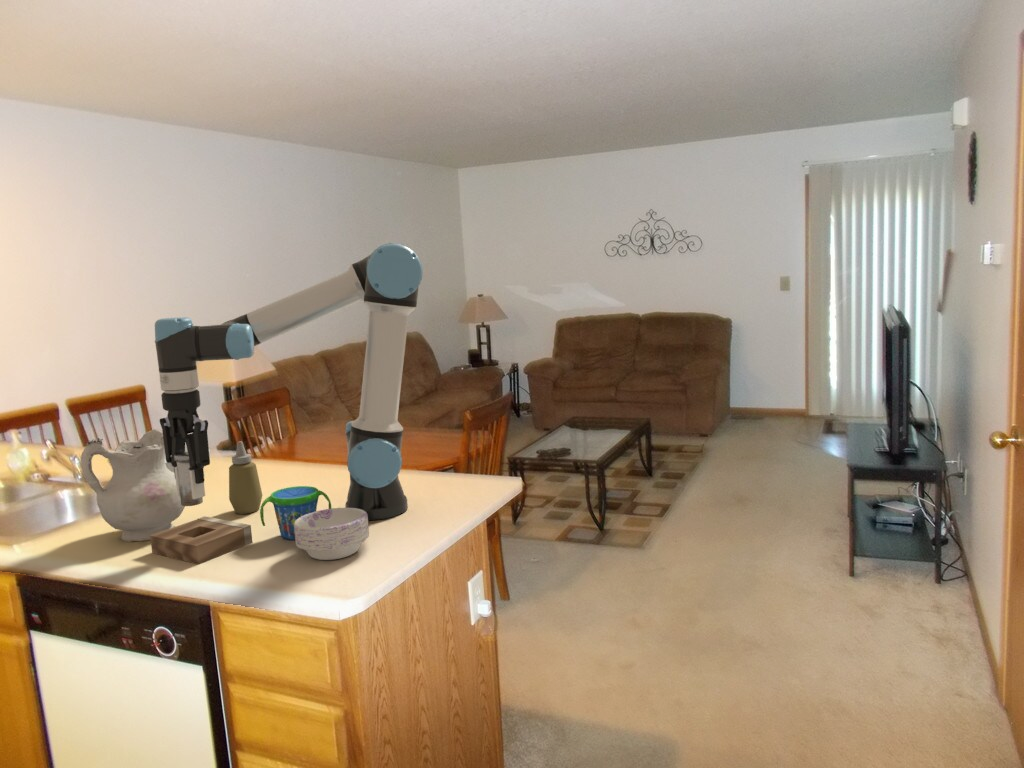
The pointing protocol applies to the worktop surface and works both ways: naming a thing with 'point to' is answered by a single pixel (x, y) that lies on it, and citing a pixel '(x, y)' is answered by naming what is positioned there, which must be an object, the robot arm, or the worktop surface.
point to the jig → (201, 539)
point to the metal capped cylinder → (185, 480)
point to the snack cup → (292, 506)
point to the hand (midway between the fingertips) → (191, 495)
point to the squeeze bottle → (244, 482)
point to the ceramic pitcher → (135, 486)
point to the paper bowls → (331, 532)
